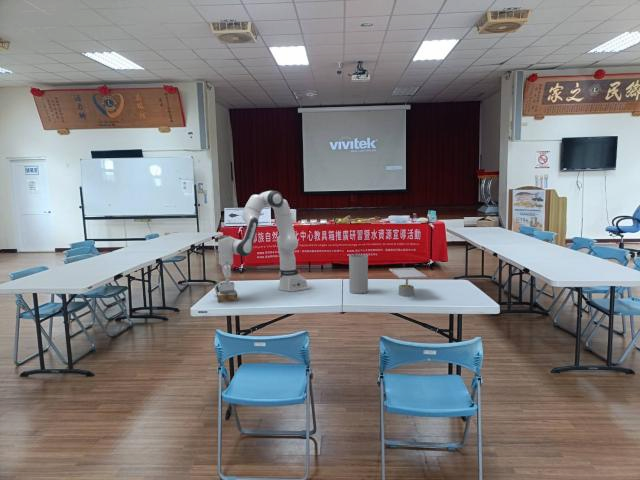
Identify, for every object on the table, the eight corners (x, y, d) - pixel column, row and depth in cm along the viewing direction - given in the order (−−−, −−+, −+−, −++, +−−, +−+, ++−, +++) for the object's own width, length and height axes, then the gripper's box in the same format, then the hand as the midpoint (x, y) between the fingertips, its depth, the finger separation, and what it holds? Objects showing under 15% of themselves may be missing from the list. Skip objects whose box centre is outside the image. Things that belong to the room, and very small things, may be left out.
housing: (233, 291, 282) (233, 281, 281) (234, 292, 278) (234, 283, 277) (219, 292, 279) (219, 282, 279) (220, 294, 275) (219, 284, 274)
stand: (236, 297, 285) (235, 290, 284) (237, 300, 277) (237, 293, 276) (217, 299, 281) (217, 291, 281) (218, 302, 274) (218, 294, 273)
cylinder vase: (371, 291, 296) (371, 255, 293) (361, 295, 286) (361, 257, 283) (355, 288, 304) (355, 253, 300) (345, 292, 294) (345, 256, 290)
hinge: (224, 297, 286) (218, 283, 286) (218, 299, 287) (212, 285, 287) (234, 291, 302) (229, 278, 302) (229, 293, 303) (223, 280, 303)
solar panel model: (426, 299, 273) (427, 276, 271) (400, 300, 271) (400, 277, 269) (413, 289, 300) (413, 267, 298) (388, 290, 299) (389, 268, 297)
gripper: (232, 263, 267) (234, 285, 269) (229, 258, 286) (230, 278, 288) (222, 264, 265) (223, 286, 267) (219, 258, 284) (221, 279, 286)
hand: (227, 282), depth 278 cm, fingers open, 8 cm apart
